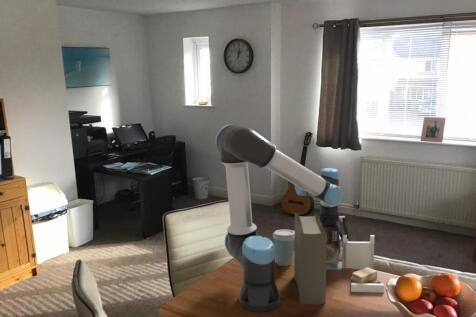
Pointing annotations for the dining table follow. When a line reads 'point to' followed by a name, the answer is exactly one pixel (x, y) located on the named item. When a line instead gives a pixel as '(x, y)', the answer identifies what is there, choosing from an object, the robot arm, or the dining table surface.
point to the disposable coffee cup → (284, 246)
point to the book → (310, 259)
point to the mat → (333, 266)
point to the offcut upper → (364, 275)
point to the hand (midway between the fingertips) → (328, 253)
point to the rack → (360, 262)
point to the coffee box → (332, 244)
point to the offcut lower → (374, 281)
